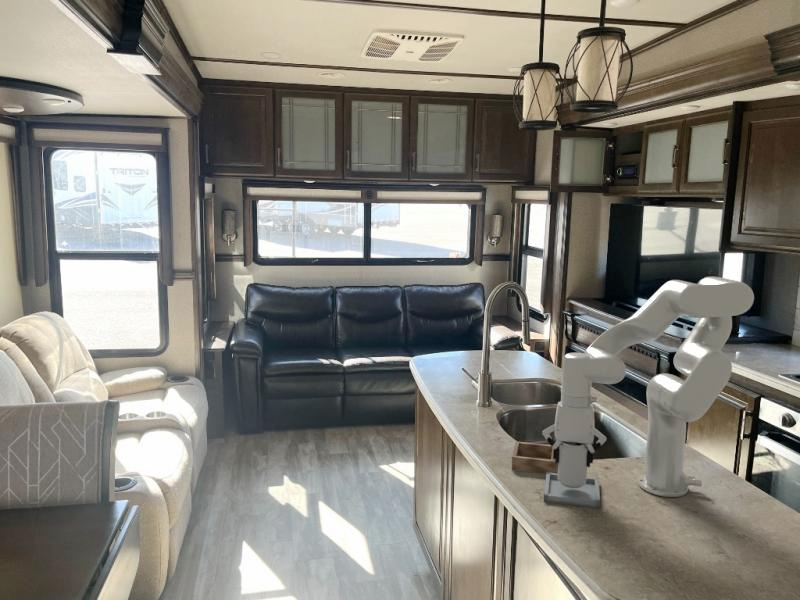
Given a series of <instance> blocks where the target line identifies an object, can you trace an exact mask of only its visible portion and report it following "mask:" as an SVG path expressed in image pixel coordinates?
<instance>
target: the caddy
mask: <svg viewBox="0 0 800 600" xmlns="http://www.w3.org/2000/svg"><path fill="white" fill-rule="evenodd" d="M511 456H512V457H511V471H519V472H528V473H535V474H545V475H546V473H547V472H548V473H555V466H556V459H553V447H552V446H551V445H550V444H545V443H544V444H543V443H536V442H535V443H534V442H523V441H516V442H515V445H514V448H513V452H512V455H511Z"/></svg>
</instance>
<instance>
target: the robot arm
mask: <svg viewBox="0 0 800 600" xmlns="http://www.w3.org/2000/svg"><path fill="white" fill-rule="evenodd" d="M754 300H755V295H754V292H753V289H752V287H751V286H749V285H748V284H746V283H745V282H742V281H738V280H735V279H728V278H725V277H719V276H705V277H704V278H702V279H700V280H699V281H698V282H697V283H693V282H690V281H685V280H681V279H671V280H668V281H666V282H665V283H664V284H663V285H661V286H660V287H659V288H658V289H657V290H656V291H655V292H654V293H653V294H652V295H651V296H650V297H649V298H648V299H647V300H646V301H645V303H643V304H642V306H640V307H639V308H638V309H637V311H635V312H634V313H632V315H631V316H630V317H628V318H626V319H624V320H623V321H622V320H621V321H620V322H618V323H617V324H615V325H613V326H611V327H610V328H608V329H606V330H605V331H604V332H602V333H601V334H600V335H599V336H598V337H597V338H595V340H593V342H592V343H590V345H589V346H588V347H587V348H586V350H585V351H584V353H582V352H568V353H566V354H565V355H564V356H563V358H562V369H561V393H560V401H558V402H557V405H556V409H555V410H556V411H555V418H554V419H555V420H554V424H552V425H550V426H548V427H546V428H544V430H542V433H541V434H542V436H543V437H544V438H545V440H546V441H547V443H548V445H551V446H552V447H553V459H555V465H556V464H557V465H558V459H559V444H560V443H561V442H562V441H563V442H572V443H582V444H586V446H587V447H588V456H587V468H590V467H591V464H593V463H594V453H595V452H596V451H598V449H600V448H601V447H602V445H604V444H605V442H607V437H606V435H605V434H603V433H602V432H600V431H599V430H598V429H597V428H596V427H595V408H594V405H593V404H592V403H597V397H594V396H593V395H592V383H596V384H602V385H603V384H604V385H614V384H618V383H619V382H621V381H622V380H624V378H625V376H626V374H627V367H626V364H625V363H624V361H623V360H622V359H620V358H619V357H618V356H617V355H618V354H619V353H620V352H623V350H624V349H626V348H628V347H631V346H633V345H638V344H642V343H649V342H653V341H656V340H658V339H659V338H660V336H662V335H663V334H664V332H666V330H668V328H669V327H670V326H671V325H673V323H674V322H676V321H677V319H679V318H680V317H681V316H684V317H688V318H693V319H697V321H696V323H695V325H694V326H693V328H692V330H691V331H690V332H689V333H688V335H687V336H686V338H685V339H684V340H683V342H682V344H681V345H680V347H679V348H678V349H677V351H676V353H675V354H674V357H673V360H672V361H673V365H674V368H675V369H676V370H677V371H678V372H680V373H681V374H683V375H684V376H686V379H682V378H681V377H679V376H677V375H674V374H670V373H659V374H656V375H654V376H653V377H652V378H651V379H650V380H649V382H648V384H647V386H646V395H645V397H646V402H647V403H646V404H647V415H648V416H647V433H646V447H645V448H646V450H645V451H646V452H645V465H644V473H643V474H642V475H640V476H638V480H637V483H638V486H639V487H640V488H642V489H643V491H646V492H647V493H650V494H653V495H656V496H661V497H664V498H665V497H668V498H676V497H677V498H678V497H683V496H684V495H686V494H688V491H689V486H694V487H700V488H701V487H702V484H703V481H702V479H701V478H696V476H695V475H689V474H688V475H686V474H685V473H684V463H685V461H684V460H685V450H686V449H685V447H686V437H687V436H686V435H687V423H692V422H697V421H698V420H699V419H701V418H702V417H703V416H704V415H705V414H706V413H707V412H708V410H709V409H710V408H711V406H712V405H713V404H714V402H715V401H716V399H717V398H718V396H719V395H720V394H721V392H722V391H723V390H724V388H725V387H726V385H727V384H728V382H729V380H730V378H731V376H732V371H733V365H732V361H731V359H730V357H729V356H728V355H727V354H726V353H725V352H723V351H722V349H723V348H724V346H725V344H726V342H727V341H728V339H729V338H730V335H731V332H732V329H733V318H732V317H733V316H739V315H743V314H744V313H746V312H747V311H749V310H750V309H751V307H752V306H753V304H754ZM552 432H553V433H554V438H553V436H551V435H550V434H551V433H552ZM595 437H597V438H598V440H596V441H595V442H594V439H595Z"/></svg>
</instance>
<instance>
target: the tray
mask: <svg viewBox="0 0 800 600" xmlns="http://www.w3.org/2000/svg"><path fill="white" fill-rule="evenodd" d="M557 477H558V472H557V473H555V472H554V473H548V472H547V473H546V474H545V482H544V483H545V484H544V491H543V502H544V503H545V502H546V503H554V504H562V505H571V506H578V507H584V508H585V507H586V508H594V509H595V508H596V509H600V507H601V496H600V494H601V493H600V484H599V483H600V481H599V478H598V477H591V476H587V477H586V484H585V485H583V486H582V487H580V488H569V487H565V486H563V485H562V484H561V483H560V482H559V481H558V479H557Z"/></svg>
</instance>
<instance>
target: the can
mask: <svg viewBox="0 0 800 600" xmlns="http://www.w3.org/2000/svg"><path fill="white" fill-rule="evenodd" d="M587 456H588V447H587V445H586V444H582V443H572V442H563V441H562V442H561V443H560V444H559V459H558V463H557V474H558V477H557V479H558V481H559V482H560V483H561V484H562V485H563V486H565V487H569V488H580V487H582V486H583V485H585V484H586V477H588V476H587V475H588V467H587Z"/></svg>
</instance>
